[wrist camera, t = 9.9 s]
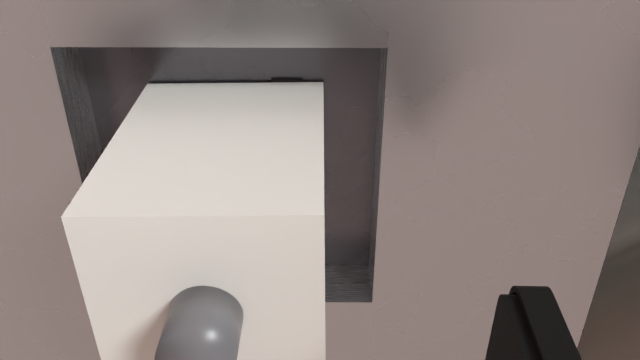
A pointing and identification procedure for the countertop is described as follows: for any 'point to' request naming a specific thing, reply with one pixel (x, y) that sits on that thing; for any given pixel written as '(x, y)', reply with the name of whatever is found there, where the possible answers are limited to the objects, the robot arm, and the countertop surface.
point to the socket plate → (346, 150)
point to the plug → (207, 226)
